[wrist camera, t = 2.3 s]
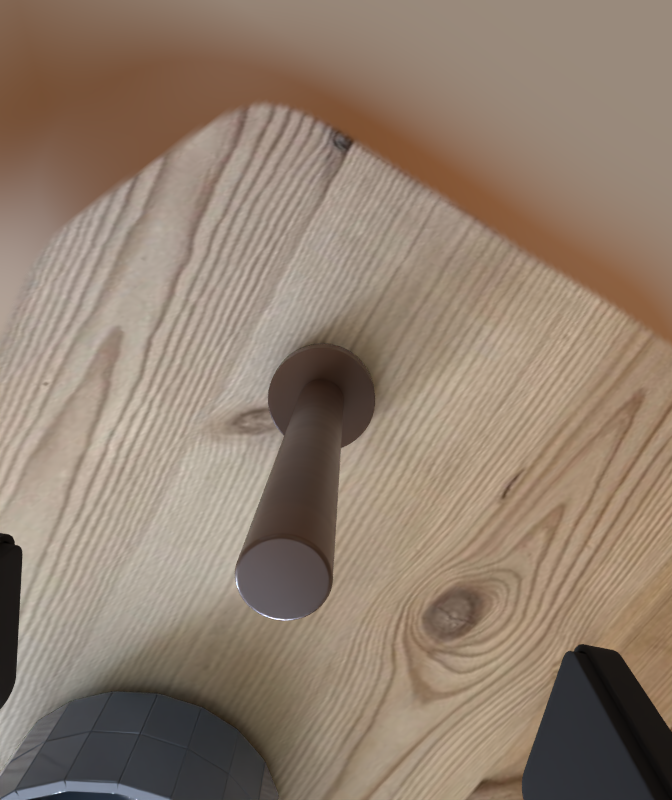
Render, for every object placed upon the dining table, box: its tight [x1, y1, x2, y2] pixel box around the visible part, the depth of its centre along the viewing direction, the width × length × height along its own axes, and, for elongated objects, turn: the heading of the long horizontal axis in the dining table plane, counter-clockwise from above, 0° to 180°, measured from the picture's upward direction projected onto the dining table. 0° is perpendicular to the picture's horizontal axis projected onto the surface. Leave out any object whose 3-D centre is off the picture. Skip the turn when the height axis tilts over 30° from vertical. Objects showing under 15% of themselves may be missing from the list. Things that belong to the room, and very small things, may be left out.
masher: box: [235, 344, 375, 620], centre depth 19 cm, size 5×5×15 cm
